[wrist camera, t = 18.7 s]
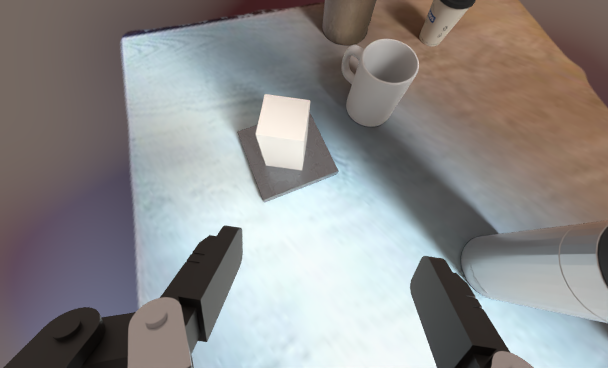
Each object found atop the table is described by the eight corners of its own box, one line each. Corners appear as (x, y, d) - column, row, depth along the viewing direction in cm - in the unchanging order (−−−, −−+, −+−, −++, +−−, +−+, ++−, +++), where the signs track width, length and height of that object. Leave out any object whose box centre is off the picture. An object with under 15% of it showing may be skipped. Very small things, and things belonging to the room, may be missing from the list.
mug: (400, 107, 44) (431, 61, 34) (371, 136, 42) (395, 95, 32) (352, 70, 47) (368, 16, 36) (322, 96, 45) (330, 46, 34)
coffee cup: (450, 32, 50) (485, -20, 41) (441, 55, 48) (476, 5, 39) (419, 21, 51) (447, -33, 42) (409, 43, 49) (436, -9, 40)
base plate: (307, 112, 43) (309, 81, 36) (336, 174, 40) (346, 153, 32) (239, 136, 41) (226, 107, 34) (264, 202, 38) (256, 188, 30)
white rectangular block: (307, 138, 40) (310, 100, 31) (302, 170, 38) (304, 141, 29) (272, 133, 40) (264, 94, 31) (265, 165, 38) (255, 134, 29)
